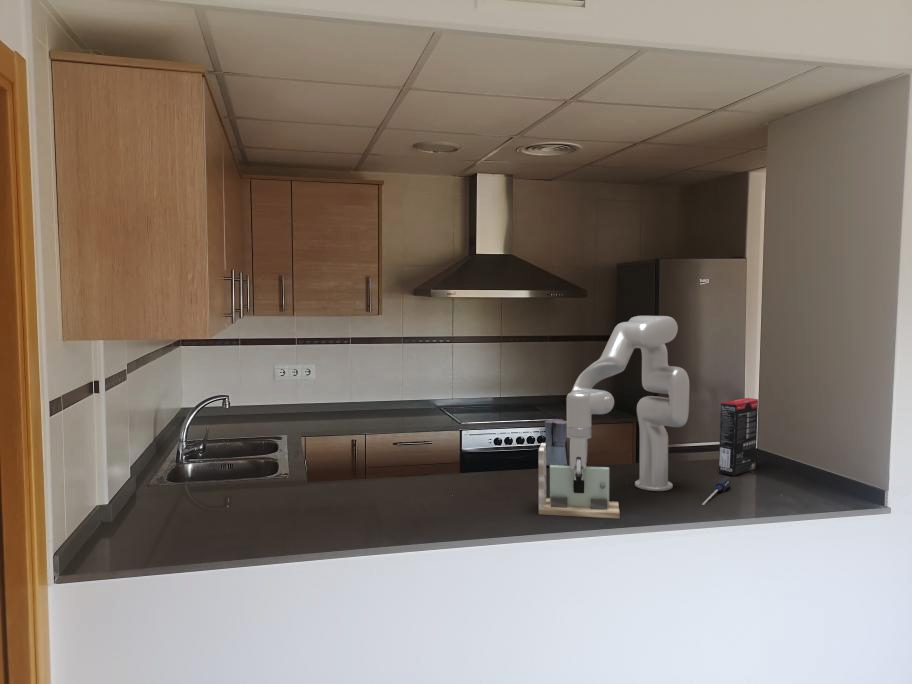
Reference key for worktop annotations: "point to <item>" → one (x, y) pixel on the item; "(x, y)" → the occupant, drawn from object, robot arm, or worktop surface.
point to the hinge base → (560, 503)
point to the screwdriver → (720, 487)
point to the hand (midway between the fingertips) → (579, 489)
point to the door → (593, 485)
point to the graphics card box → (738, 436)
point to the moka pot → (556, 441)
